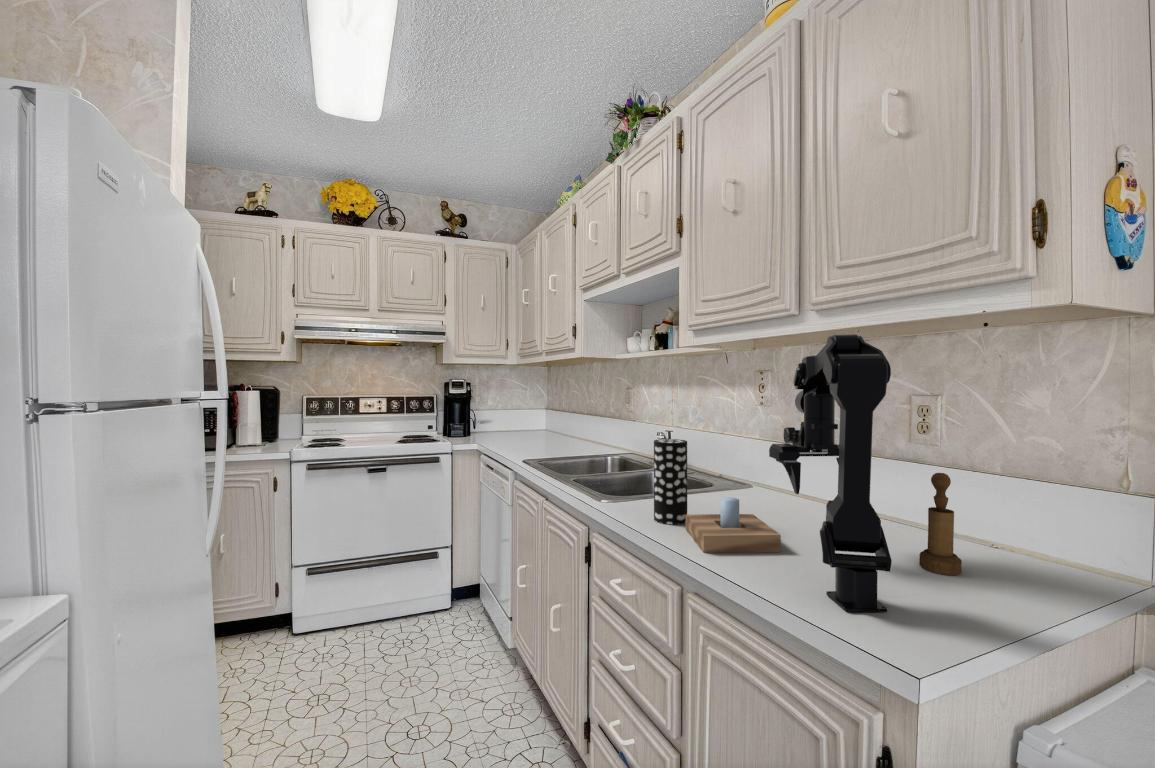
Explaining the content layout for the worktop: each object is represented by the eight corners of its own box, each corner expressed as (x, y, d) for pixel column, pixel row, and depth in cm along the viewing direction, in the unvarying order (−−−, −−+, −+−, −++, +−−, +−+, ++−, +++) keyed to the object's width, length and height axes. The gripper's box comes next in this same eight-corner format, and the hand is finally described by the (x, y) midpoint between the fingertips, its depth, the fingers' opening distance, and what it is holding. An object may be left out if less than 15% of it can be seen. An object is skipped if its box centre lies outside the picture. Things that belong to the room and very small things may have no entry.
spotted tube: (652, 523, 126) (652, 442, 126) (655, 514, 134) (655, 438, 134) (686, 525, 124) (686, 443, 124) (687, 516, 132) (687, 439, 132)
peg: (741, 542, 111) (741, 501, 111) (723, 542, 111) (723, 501, 111) (735, 536, 115) (735, 497, 115) (718, 537, 115) (718, 497, 115)
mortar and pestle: (969, 576, 92) (970, 477, 92) (929, 574, 93) (929, 476, 93) (950, 563, 98) (951, 470, 98) (913, 561, 100) (913, 469, 99)
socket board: (780, 551, 105) (780, 534, 105) (703, 552, 105) (703, 535, 105) (752, 528, 121) (752, 514, 121) (685, 529, 121) (685, 514, 121)
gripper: (842, 414, 113) (842, 484, 114) (759, 415, 113) (759, 485, 113) (872, 419, 102) (872, 496, 102) (780, 419, 102) (780, 497, 102)
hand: (818, 493), depth 105 cm, fingers open, 9 cm apart
